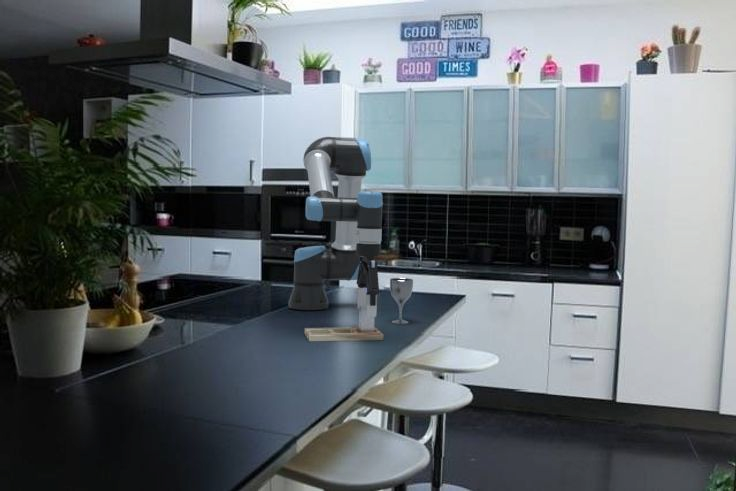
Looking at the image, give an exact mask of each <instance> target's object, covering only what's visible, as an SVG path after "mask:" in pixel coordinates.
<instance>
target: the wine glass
mask: <svg viewBox="0 0 736 491" xmlns="http://www.w3.org/2000/svg"><path fill="white" fill-rule="evenodd" d="M413 286H414V279H413V278H408V277H406V278H403V277H391V278H389V288H390V291H389V292H390V295H391V297H393V299H394V301H395V302H396V304H397V305H398V310H399V311H398V313H399V314H398V315H399V317H398V319H396V320H391V323H393V324H397V325H404V324H408V323H409V321H407V320H404V319H403V318H402V316H403V315H402V314H403V307H404V305H405V303H406V302H407V301H408V299H409V298H410V297H411V296H412V292H413V288H414V287H413Z"/></svg>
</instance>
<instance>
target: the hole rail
mask: <svg viewBox="0 0 736 491" xmlns="http://www.w3.org/2000/svg"><path fill="white" fill-rule="evenodd" d="M358 329H359V326H350V327H348V326H347V327H345V326H344V327H304V335H305V336H306V338H307V340H308V342H343V341H344V342H348V341H350V342H351V341H354V342H355V341H384V334H383V332H381V331H380V330H379V329H378V328H377V327H375V326H374V332H358Z"/></svg>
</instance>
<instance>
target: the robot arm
mask: <svg viewBox="0 0 736 491" xmlns="http://www.w3.org/2000/svg"><path fill="white" fill-rule="evenodd" d="M370 147H371V146H370V143H369V141H368V140H367V139H365V138H359V137H337V136H335V137H334V136H325V137H320V138H317V139H316V140H314V141H313V142H312V143H311V144H310V145H308V147H307V148H306V150H305V152H304V153H303V160H302V161H303V166H304V169H305V170H306V171H307V177H308V185H309V196H307V197H306V199H305V217H306V220H308V221H314V222H315V221H317V222H336V223H335V240H334V241H333V242H332V243H331V246H330V249H326V248H327V247H326V246H325V245H314V246H305V247H300V248H297V249H296V250H294V260H293V263H294V265H293V266H294V268H293V287H292V292H291V293H290V297H289V300H288V308H289V309H293V310H299V311H319V310H327V309H328V308H329V299H328V296H327V295H328V294H327V293H326V289H325V281H347V282H349V281H356V284H357V309H358V310H359V306H367V317H375V318H376V317H377V311H378V310H377V304H378V301H377V300H378V295H379V293H380V286H379V285H380V284H379V273H378V263H379V262H378V260H375V258H376V257H380V256H381V254H382V244H381V242H382V237H383V236H382V234H383V233H382V231H383V229H382V221H383V205H384V202H383V193H382V192H380V191H365V190H364V191H363V190H362V180H363V179H364V178H365V177H366V176H367V172H369V171H371V170H372V169H371V168H372V152H371V148H370ZM330 170H334V175H335V176H336V178H338V185H337V186H338V187H337V197H336V196H335V193H334V187H333V183H332V181H333V180H332V176H331V172H330ZM365 287H368V292H367V288H365Z"/></svg>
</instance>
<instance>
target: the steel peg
mask: <svg viewBox="0 0 736 491" xmlns="http://www.w3.org/2000/svg"><path fill="white" fill-rule="evenodd" d="M375 318H376V317H367V305H366V306H359V309H358V327H359V329H358V332H374V327H375V320H376V319H375Z"/></svg>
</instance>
